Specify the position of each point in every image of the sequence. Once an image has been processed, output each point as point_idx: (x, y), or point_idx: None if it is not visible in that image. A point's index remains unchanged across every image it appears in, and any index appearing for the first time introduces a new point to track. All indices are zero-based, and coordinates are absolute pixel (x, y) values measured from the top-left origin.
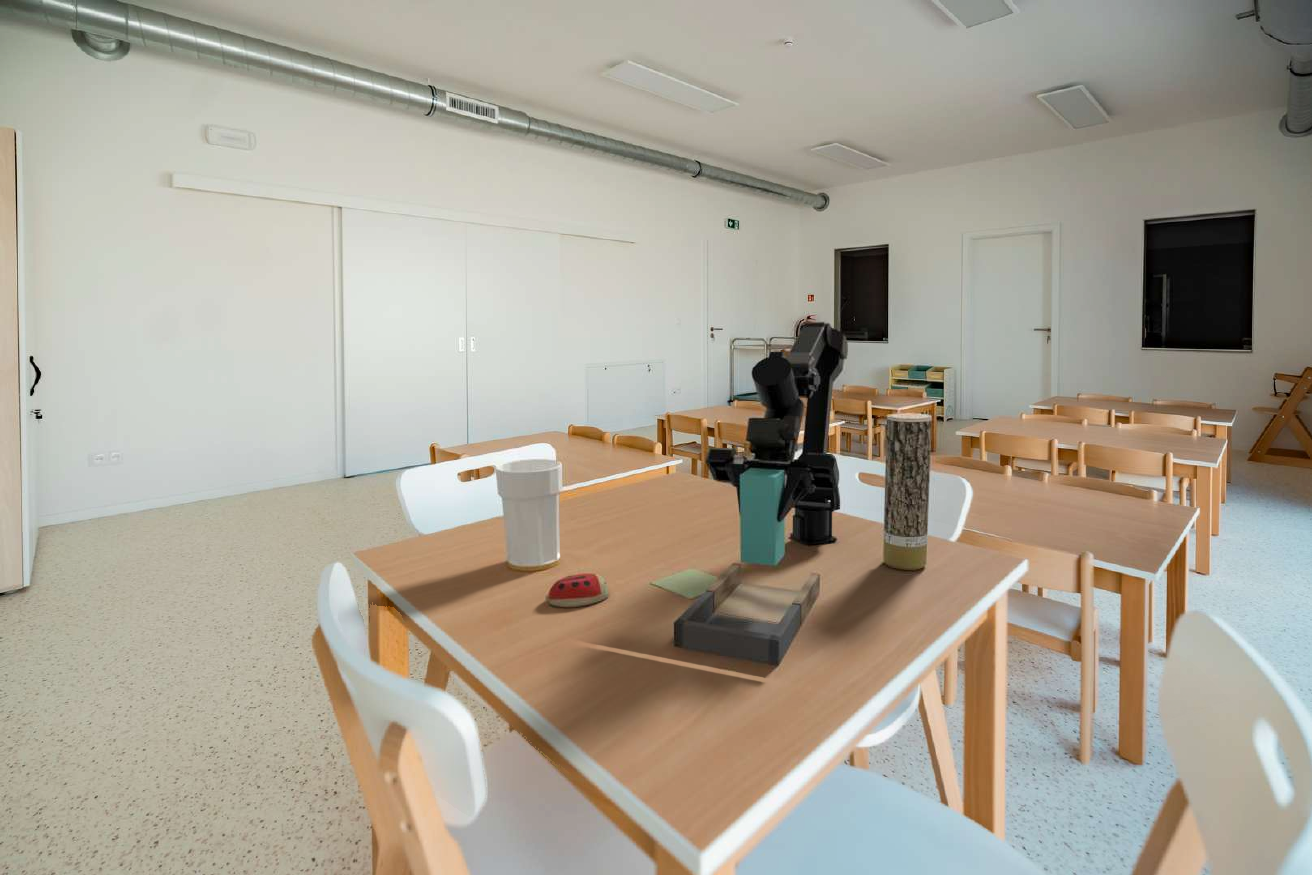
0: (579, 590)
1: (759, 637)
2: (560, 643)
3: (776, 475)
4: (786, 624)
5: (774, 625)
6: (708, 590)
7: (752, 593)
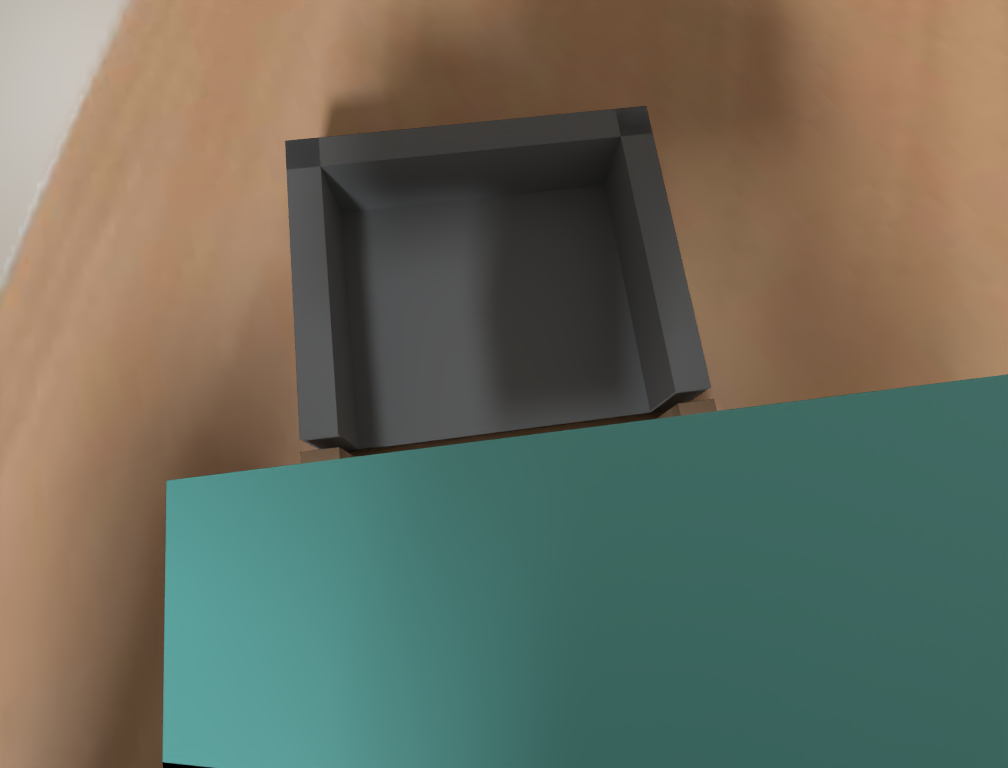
0: None
1: (349, 135)
2: (908, 57)
3: None
4: (298, 257)
5: (414, 425)
6: (703, 400)
7: None
